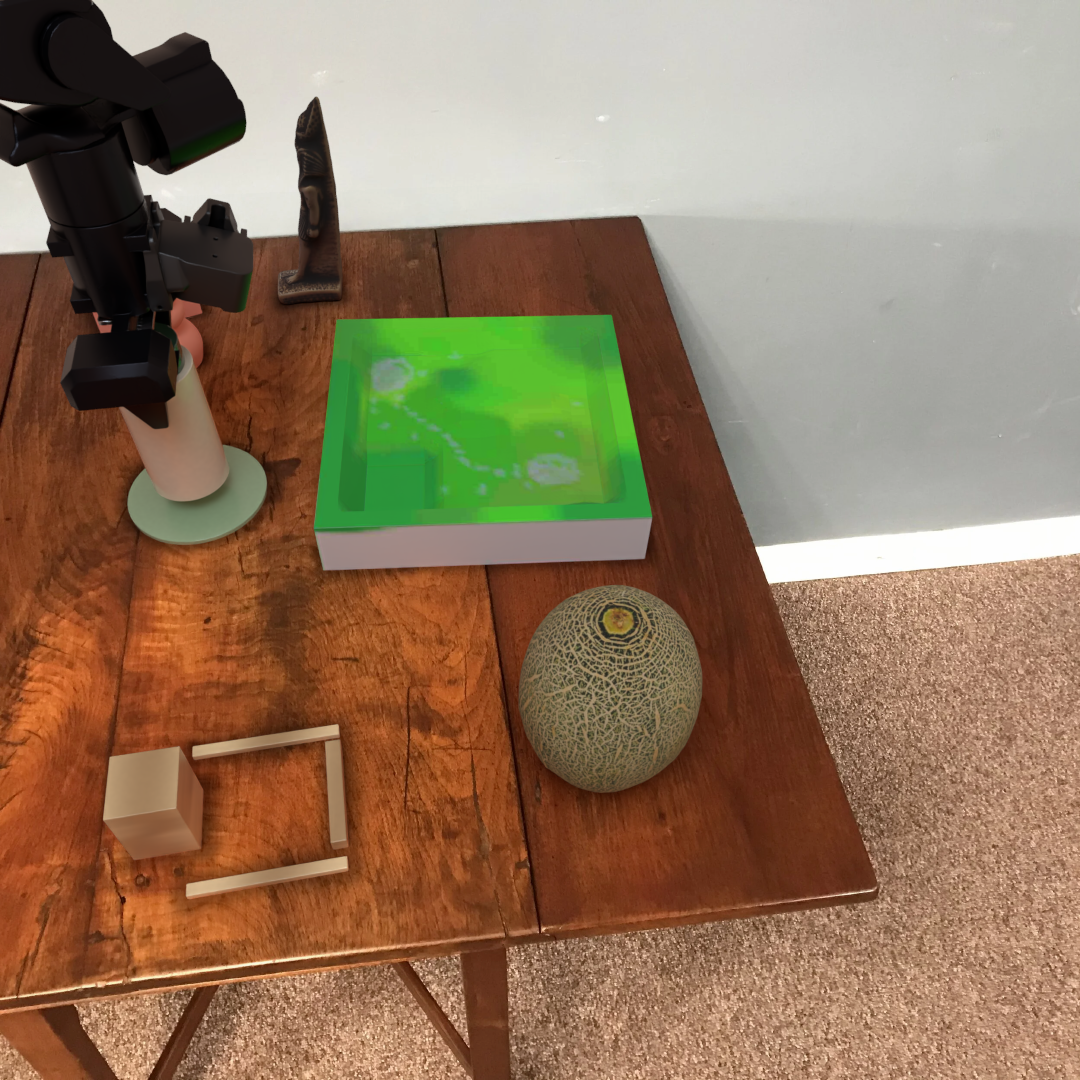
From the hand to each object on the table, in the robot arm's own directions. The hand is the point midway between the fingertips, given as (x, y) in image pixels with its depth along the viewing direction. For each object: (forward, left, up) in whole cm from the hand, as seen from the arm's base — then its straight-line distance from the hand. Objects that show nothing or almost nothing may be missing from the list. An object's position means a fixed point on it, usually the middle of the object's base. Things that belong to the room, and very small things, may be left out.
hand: (164, 398), depth 69 cm
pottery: (+1, +24, -11) cm, 26 cm away
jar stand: (-4, -28, -10) cm, 31 cm away
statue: (+17, +23, -11) cm, 31 cm away
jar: (-5, +1, -6) cm, 8 cm away
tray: (+23, -5, -11) cm, 26 cm away
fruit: (+19, -34, -11) cm, 40 cm away
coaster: (0, 0, -10) cm, 10 cm away
